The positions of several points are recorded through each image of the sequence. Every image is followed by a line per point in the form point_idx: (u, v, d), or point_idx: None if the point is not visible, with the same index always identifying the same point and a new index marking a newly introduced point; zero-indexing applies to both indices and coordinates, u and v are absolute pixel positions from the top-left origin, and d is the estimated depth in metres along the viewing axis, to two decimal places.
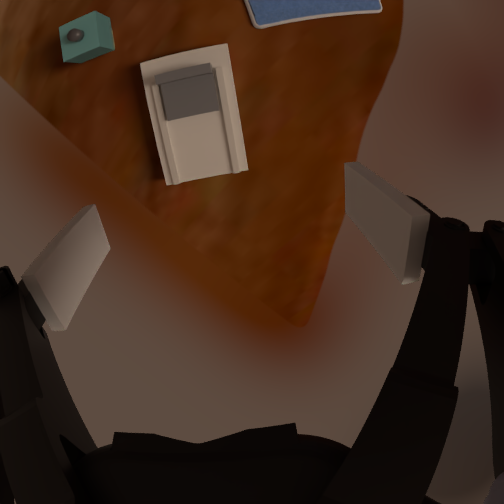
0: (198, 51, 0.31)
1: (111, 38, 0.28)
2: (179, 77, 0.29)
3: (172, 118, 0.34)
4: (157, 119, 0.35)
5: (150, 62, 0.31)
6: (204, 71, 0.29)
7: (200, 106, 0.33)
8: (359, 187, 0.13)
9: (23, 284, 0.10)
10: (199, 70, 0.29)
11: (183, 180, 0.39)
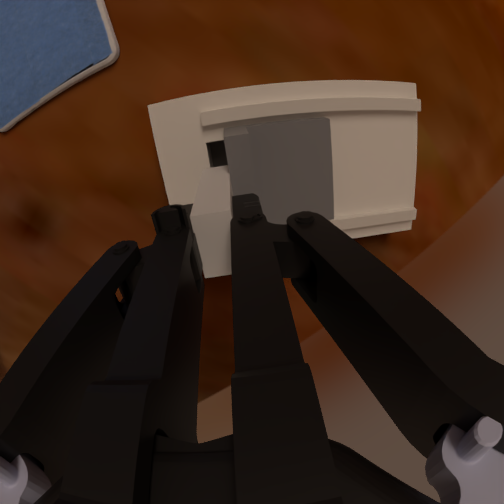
0: (165, 160, 0.17)
1: None
2: None
3: (330, 210, 0.19)
4: None
5: None
6: (245, 149, 0.14)
7: (316, 155, 0.17)
8: None
9: None
10: (242, 160, 0.14)
11: (411, 200, 0.20)
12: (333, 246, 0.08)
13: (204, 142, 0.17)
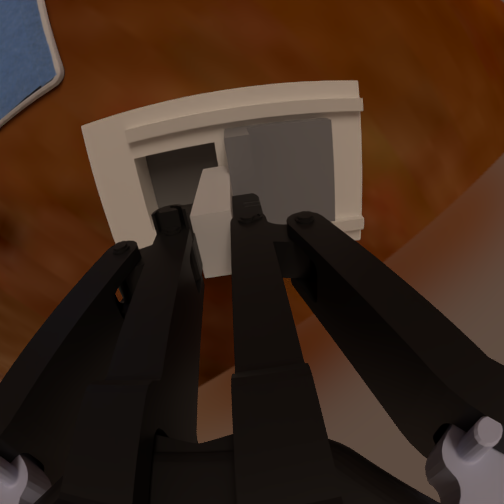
0: (99, 177, 0.17)
1: None
2: None
3: (331, 212, 0.19)
4: None
5: None
6: (245, 150, 0.14)
7: (318, 156, 0.17)
8: None
9: None
10: (242, 161, 0.14)
11: (359, 209, 0.20)
12: (333, 246, 0.08)
13: (132, 158, 0.17)
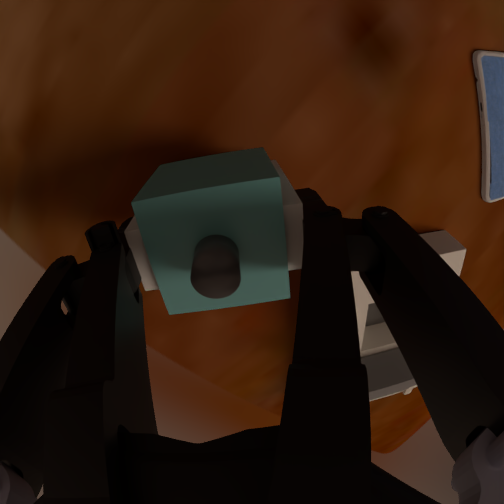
0: None
1: None
2: (395, 390, 0.20)
3: None
4: None
5: None
6: None
7: None
8: None
9: None
10: None
11: None
12: (403, 242, 0.08)
13: None
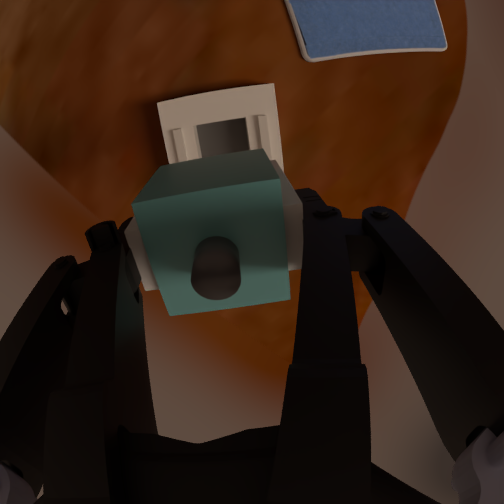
0: (235, 91, 0.25)
1: None
2: None
3: None
4: None
5: (171, 102, 0.25)
6: None
7: None
8: None
9: None
10: None
11: None
12: (403, 242, 0.08)
13: (246, 116, 0.27)
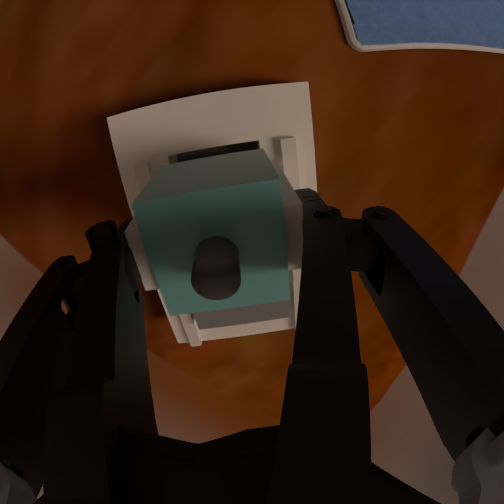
0: (241, 94, 0.14)
1: None
2: None
3: (207, 326, 0.21)
4: None
5: (129, 116, 0.14)
6: None
7: (258, 311, 0.20)
8: None
9: None
10: None
11: (207, 338, 0.23)
12: (403, 242, 0.08)
13: (259, 138, 0.16)
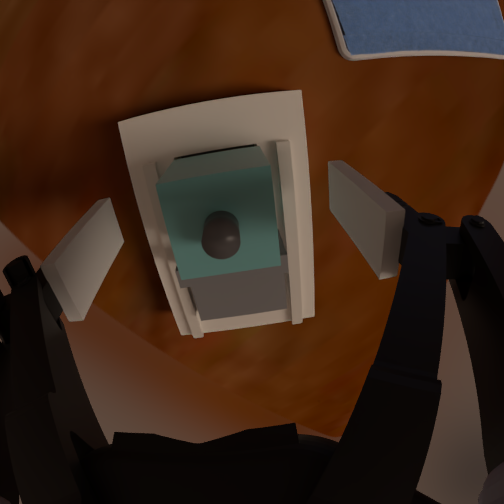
0: (240, 102, 0.16)
1: None
2: (226, 279, 0.18)
3: (208, 317, 0.22)
4: (158, 237, 0.20)
5: (139, 121, 0.16)
6: (275, 270, 0.18)
7: (256, 303, 0.22)
8: (341, 185, 0.13)
9: (40, 274, 0.10)
10: (265, 268, 0.17)
11: (208, 330, 0.24)
12: (494, 253, 0.07)
13: (257, 142, 0.17)
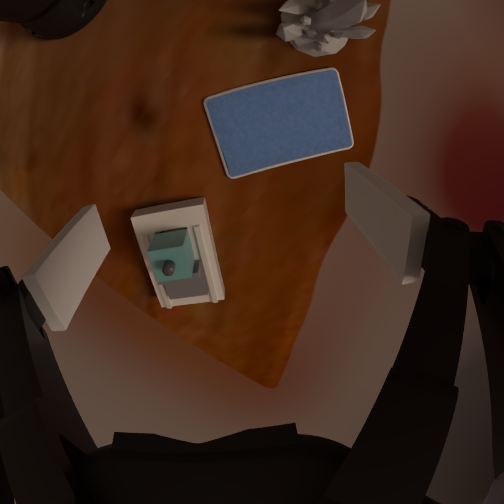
0: (178, 211, 0.42)
1: (191, 250, 0.44)
2: (175, 281, 0.44)
3: (173, 298, 0.48)
4: (150, 263, 0.46)
5: (139, 217, 0.42)
6: (194, 278, 0.44)
7: (193, 291, 0.48)
8: (359, 187, 0.13)
9: (23, 284, 0.10)
10: None
11: (174, 305, 0.51)
12: None
13: (186, 226, 0.43)
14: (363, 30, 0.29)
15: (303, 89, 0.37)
